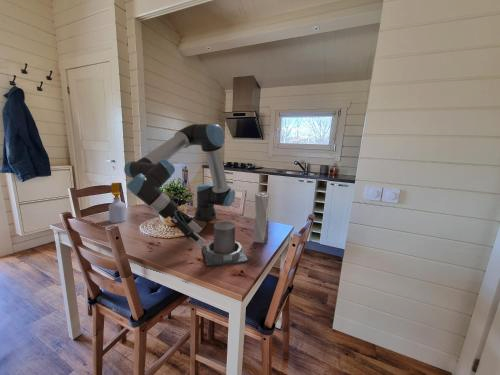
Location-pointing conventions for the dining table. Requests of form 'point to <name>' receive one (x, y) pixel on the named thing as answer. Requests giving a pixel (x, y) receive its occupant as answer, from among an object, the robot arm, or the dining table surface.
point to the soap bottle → (117, 206)
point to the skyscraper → (261, 218)
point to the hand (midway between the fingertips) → (201, 237)
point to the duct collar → (223, 256)
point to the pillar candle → (224, 237)
